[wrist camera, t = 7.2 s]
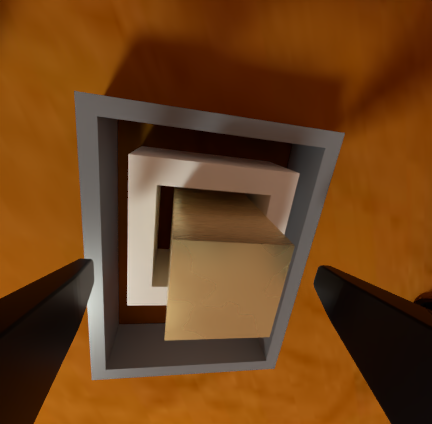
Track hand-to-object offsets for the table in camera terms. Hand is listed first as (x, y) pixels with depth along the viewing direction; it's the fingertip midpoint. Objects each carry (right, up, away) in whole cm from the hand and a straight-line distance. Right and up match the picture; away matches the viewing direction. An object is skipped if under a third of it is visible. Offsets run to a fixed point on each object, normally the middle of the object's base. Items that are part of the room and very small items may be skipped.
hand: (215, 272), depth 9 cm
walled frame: (-1, 0, +7) cm, 7 cm away
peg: (-1, +2, +6) cm, 7 cm away
